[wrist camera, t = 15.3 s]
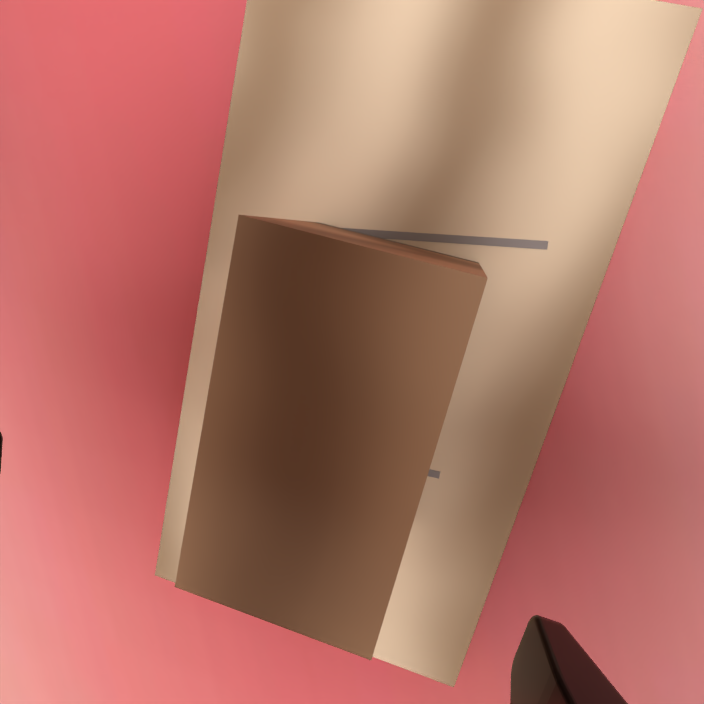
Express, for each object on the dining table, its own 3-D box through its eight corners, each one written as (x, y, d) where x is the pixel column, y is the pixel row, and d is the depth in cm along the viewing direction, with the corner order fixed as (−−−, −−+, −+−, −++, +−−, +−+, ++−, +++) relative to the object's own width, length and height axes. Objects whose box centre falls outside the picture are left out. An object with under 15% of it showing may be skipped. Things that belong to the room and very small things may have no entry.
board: (685, 24, 14) (703, 8, 13) (454, 665, 20) (453, 687, 19) (270, -49, 16) (257, -68, 15) (168, 559, 21) (154, 575, 20)
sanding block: (478, 262, 15) (487, 278, 10) (401, 522, 18) (371, 659, 12) (319, 222, 16) (238, 214, 10) (265, 477, 18) (175, 586, 13)
